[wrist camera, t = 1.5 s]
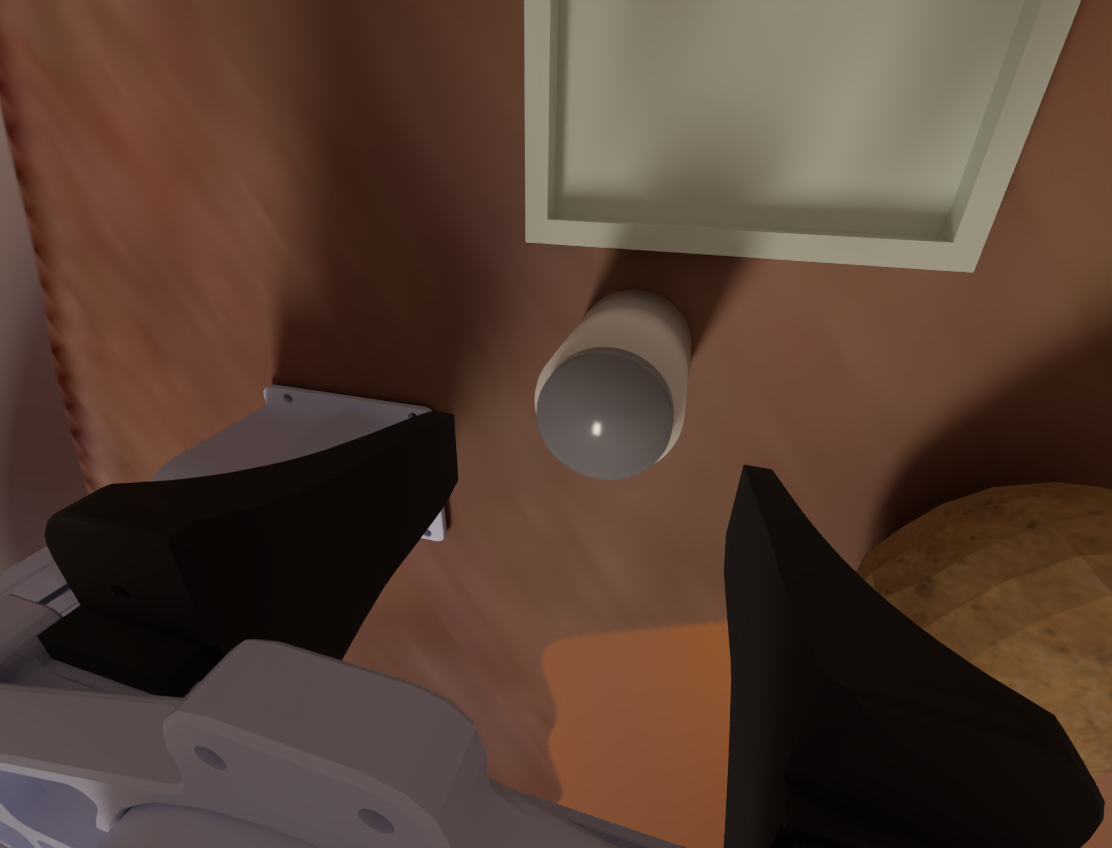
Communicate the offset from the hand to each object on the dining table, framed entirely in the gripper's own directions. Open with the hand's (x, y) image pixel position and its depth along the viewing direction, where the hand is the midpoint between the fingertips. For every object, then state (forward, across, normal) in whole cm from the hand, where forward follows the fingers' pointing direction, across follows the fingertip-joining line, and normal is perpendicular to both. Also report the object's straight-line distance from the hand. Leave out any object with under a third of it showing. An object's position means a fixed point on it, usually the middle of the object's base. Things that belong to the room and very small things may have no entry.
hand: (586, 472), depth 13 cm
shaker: (+10, 0, 0) cm, 10 cm away
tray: (+10, -3, -9) cm, 13 cm away
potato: (+10, -14, +8) cm, 19 cm away
